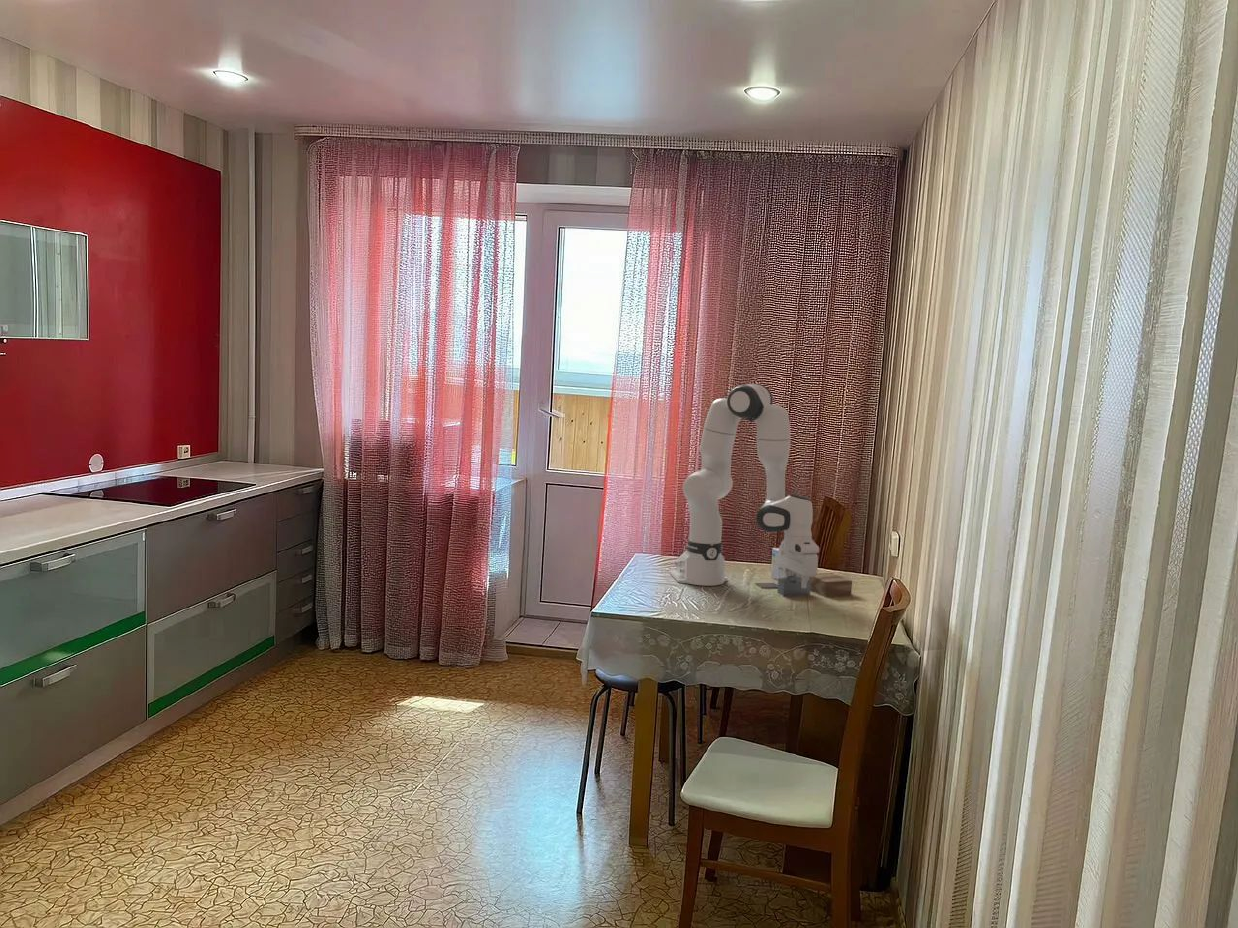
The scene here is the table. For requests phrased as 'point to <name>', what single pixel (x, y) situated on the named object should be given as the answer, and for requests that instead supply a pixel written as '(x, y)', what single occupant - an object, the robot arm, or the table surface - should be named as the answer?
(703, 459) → the robot arm
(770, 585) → the loose cover plate
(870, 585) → the table surface
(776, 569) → the light bulb box
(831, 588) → the wooden stand
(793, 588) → the metal housing
